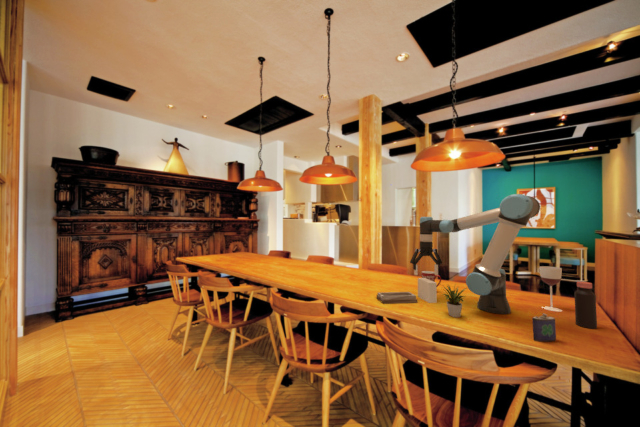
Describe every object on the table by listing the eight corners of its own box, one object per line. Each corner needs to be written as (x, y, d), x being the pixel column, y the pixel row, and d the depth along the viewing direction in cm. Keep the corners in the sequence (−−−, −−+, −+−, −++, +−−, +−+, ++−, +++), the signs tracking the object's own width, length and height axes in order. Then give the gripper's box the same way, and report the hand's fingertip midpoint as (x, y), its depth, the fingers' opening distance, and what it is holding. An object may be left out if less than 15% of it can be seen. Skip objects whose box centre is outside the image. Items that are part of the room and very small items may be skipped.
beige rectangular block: (436, 302, 148) (436, 282, 149) (428, 302, 148) (428, 282, 148) (425, 296, 161) (424, 278, 162) (417, 296, 161) (417, 278, 161)
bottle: (599, 327, 113) (597, 283, 114) (594, 330, 110) (592, 284, 111) (578, 322, 119) (576, 280, 120) (573, 324, 116) (571, 281, 117)
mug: (421, 292, 171) (421, 272, 172) (421, 289, 180) (421, 270, 180) (441, 294, 166) (441, 274, 167) (441, 291, 174) (440, 272, 175)
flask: (551, 338, 102) (550, 311, 102) (559, 341, 99) (558, 314, 99) (531, 339, 101) (530, 312, 101) (538, 342, 98) (537, 315, 99)
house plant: (432, 314, 128) (431, 283, 128) (441, 308, 137) (441, 279, 138) (463, 322, 118) (462, 288, 118) (470, 315, 127) (470, 283, 128)
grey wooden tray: (417, 302, 148) (417, 296, 148) (383, 303, 145) (383, 297, 145) (408, 297, 160) (408, 291, 160) (376, 297, 157) (376, 291, 157)
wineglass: (567, 310, 136) (565, 268, 137) (556, 312, 132) (555, 269, 134) (547, 305, 145) (545, 265, 146) (536, 307, 141) (535, 266, 142)
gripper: (441, 240, 162) (441, 273, 161) (404, 240, 159) (404, 273, 158) (448, 241, 154) (448, 275, 153) (410, 241, 151) (410, 276, 151)
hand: (426, 274), depth 156 cm, fingers open, 13 cm apart
